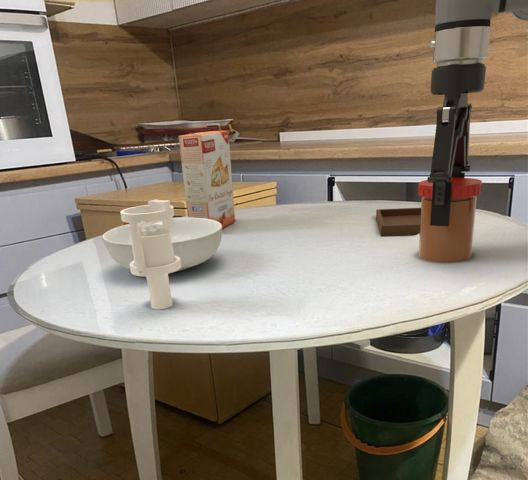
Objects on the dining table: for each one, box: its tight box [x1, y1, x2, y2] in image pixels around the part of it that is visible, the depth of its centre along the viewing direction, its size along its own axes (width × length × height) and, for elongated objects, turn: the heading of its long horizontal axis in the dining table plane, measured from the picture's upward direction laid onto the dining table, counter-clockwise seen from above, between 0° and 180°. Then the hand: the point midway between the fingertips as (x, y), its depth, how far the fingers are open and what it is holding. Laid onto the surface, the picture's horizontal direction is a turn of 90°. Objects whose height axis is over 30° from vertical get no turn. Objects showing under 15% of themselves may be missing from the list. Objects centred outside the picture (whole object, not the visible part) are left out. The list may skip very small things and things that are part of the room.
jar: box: [418, 196, 478, 264], centre depth 87 cm, size 8×8×12 cm
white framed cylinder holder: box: [119, 199, 181, 310], centre depth 74 cm, size 7×7×15 cm
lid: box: [417, 177, 483, 199], centre depth 85 cm, size 10×10×2 cm
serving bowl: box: [102, 216, 223, 273], centre depth 95 cm, size 21×21×7 cm
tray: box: [375, 207, 421, 237], centre depth 113 cm, size 18×14×2 cm
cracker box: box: [178, 130, 236, 229], centre depth 121 cm, size 14×6×21 cm, turn 160°
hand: (446, 218), depth 87 cm, fingers closed on lid, 9 cm apart
